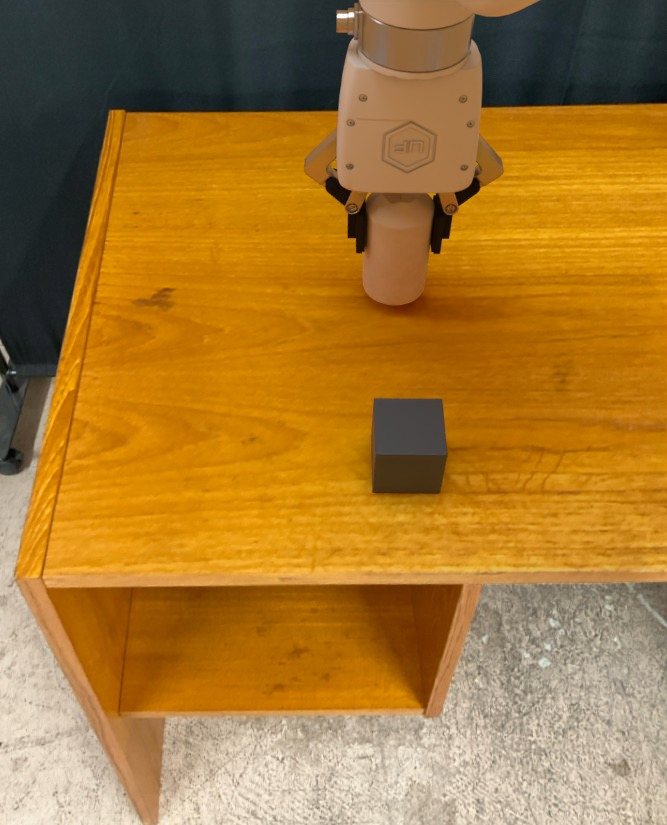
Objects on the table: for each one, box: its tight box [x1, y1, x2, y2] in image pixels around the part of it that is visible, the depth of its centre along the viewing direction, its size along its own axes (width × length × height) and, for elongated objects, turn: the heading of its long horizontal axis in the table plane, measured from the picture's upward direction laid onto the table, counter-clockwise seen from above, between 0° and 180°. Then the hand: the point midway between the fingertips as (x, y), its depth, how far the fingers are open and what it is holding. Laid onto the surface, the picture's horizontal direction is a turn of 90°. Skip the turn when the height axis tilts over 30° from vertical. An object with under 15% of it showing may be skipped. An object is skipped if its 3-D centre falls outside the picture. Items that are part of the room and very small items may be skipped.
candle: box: [362, 193, 435, 306], centre depth 68 cm, size 6×6×10 cm
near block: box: [370, 397, 449, 494], centre depth 60 cm, size 5×5×5 cm
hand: (397, 240), depth 68 cm, fingers closed on candle, 5 cm apart
